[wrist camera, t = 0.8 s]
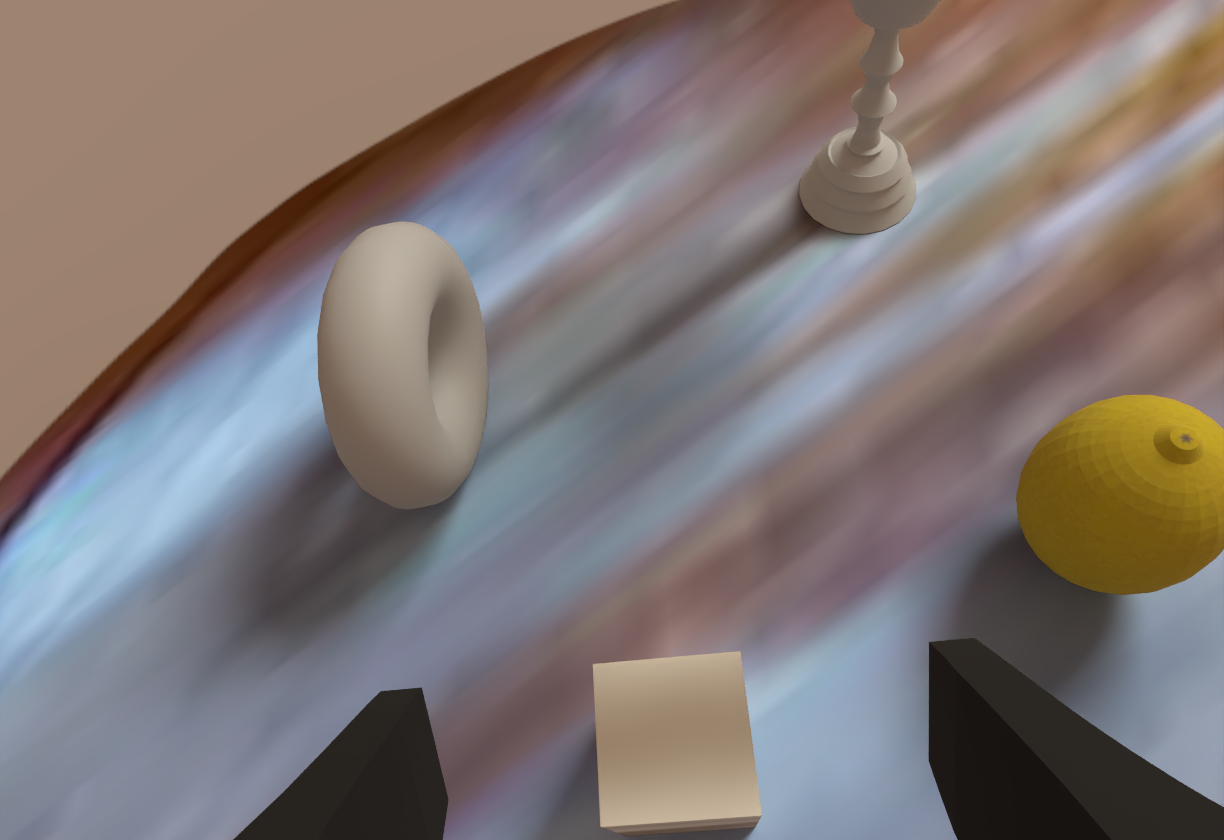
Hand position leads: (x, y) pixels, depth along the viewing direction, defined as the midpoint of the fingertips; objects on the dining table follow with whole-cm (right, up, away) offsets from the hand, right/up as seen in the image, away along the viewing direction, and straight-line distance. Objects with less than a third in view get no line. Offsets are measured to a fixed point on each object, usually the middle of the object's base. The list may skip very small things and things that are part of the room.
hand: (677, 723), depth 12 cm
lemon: (+15, 0, +17) cm, 23 cm away
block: (+1, -7, +15) cm, 16 cm away
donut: (-7, +4, +22) cm, 23 cm away
